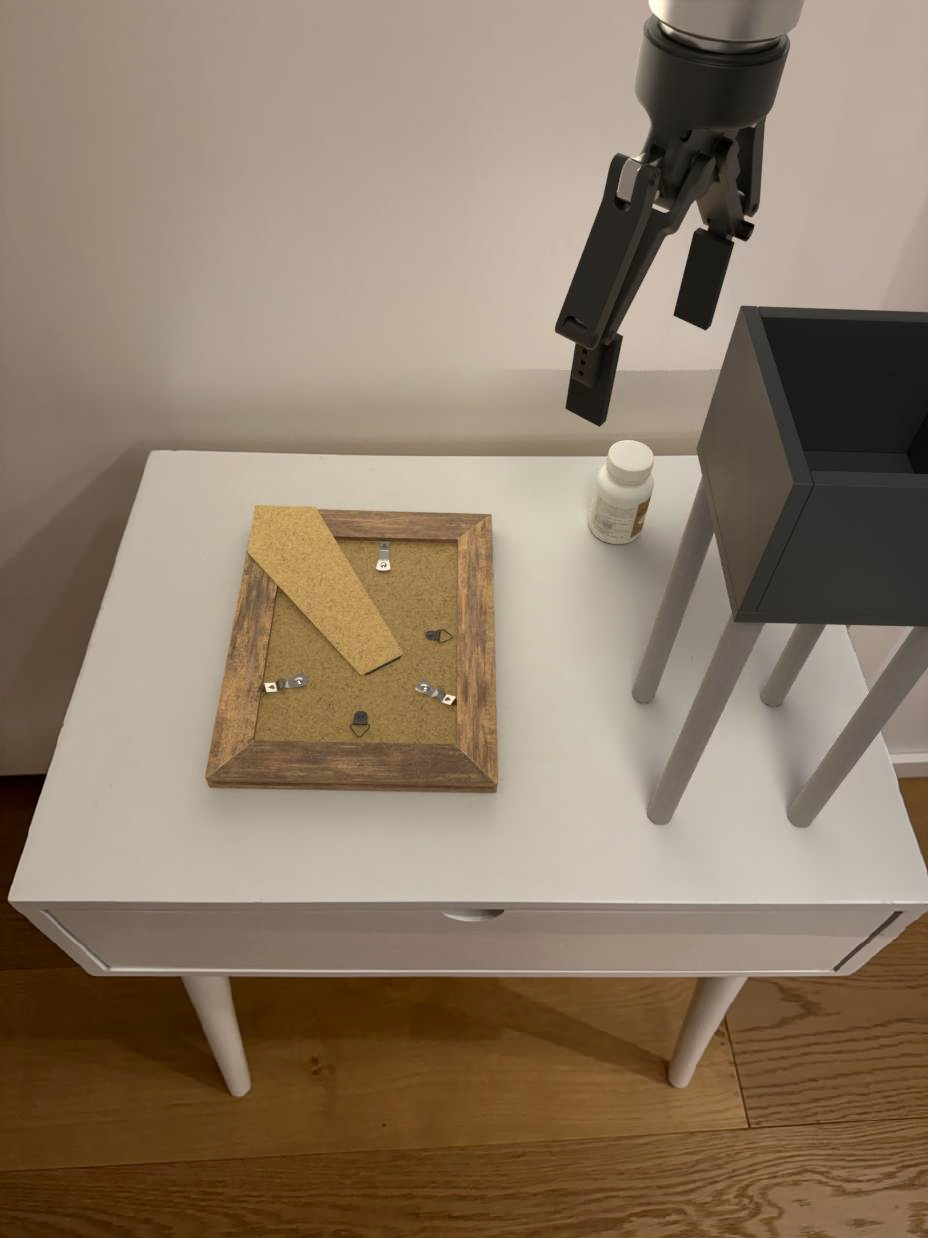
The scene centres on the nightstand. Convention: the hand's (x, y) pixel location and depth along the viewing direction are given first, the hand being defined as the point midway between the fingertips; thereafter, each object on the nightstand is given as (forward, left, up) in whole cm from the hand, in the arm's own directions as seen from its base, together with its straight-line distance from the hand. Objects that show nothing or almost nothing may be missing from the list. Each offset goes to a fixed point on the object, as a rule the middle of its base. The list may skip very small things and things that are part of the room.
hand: (641, 365), depth 65 cm
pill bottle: (-1, 0, -16) cm, 16 cm away
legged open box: (-18, +13, -15) cm, 27 cm away
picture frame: (+7, +22, -16) cm, 28 cm away
